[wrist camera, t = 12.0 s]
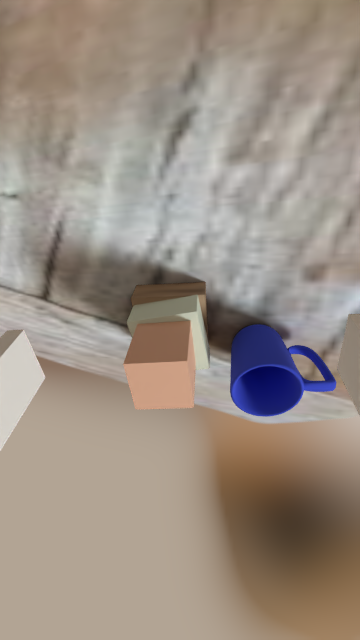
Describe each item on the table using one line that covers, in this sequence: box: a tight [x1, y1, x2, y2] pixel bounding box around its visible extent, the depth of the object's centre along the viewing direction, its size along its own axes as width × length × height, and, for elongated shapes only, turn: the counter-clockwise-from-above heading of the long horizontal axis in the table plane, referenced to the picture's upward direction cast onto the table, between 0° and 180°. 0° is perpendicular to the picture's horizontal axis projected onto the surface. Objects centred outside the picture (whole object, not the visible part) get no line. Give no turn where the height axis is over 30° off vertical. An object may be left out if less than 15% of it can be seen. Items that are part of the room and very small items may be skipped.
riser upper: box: [127, 295, 210, 370], centre depth 39 cm, size 8×8×4 cm
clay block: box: [123, 321, 196, 409], centre depth 34 cm, size 6×6×7 cm
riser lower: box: [131, 282, 208, 339], centre depth 42 cm, size 9×9×4 cm
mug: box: [230, 324, 336, 416], centre depth 40 cm, size 8×12×10 cm
